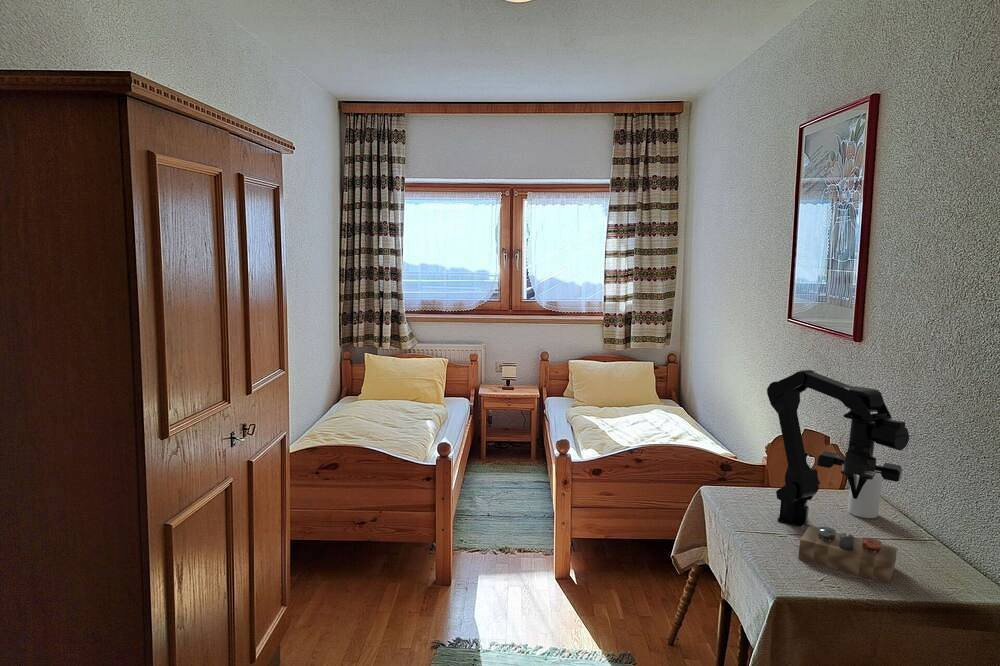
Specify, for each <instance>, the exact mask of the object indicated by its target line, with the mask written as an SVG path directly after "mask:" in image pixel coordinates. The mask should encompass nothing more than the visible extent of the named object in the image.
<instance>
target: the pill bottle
mask: <svg viewBox="0 0 1000 666" xmlns="http://www.w3.org/2000/svg"><path fill="white" fill-rule="evenodd" d="M876 465H879V464H878V463H876ZM858 482H859V476H858V475H857V485H858ZM882 485H883V477H882V476H881V474H880V473H875V476H874V478H873V479H872V480H870V479H868V480H867V481H866V482H865V484H864V485H863V487H862V489H861V491H860V493H859V495H858V497H857V499H854V498H853V495H852V491H851V487H850V486H849V491H848V492H849V493H848V501H847V502H848V503H847V510H848V511H847V512H848V513H849V514H851V515H853V516H855V517H857V518H863V519H875V518H877V517H878V516H879V514H880V513H879V512H880V503H881V495H882Z"/></svg>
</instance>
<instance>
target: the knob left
mask: <svg viewBox="0 0 1000 666" xmlns="http://www.w3.org/2000/svg"><path fill="white" fill-rule="evenodd" d="M817 528H818V536H819V537H821V539H823V540H826V541H830V542H831V540H833V539H835V536H836V533H837V531H836V530H835V529H834V528H831V527H828V526H820V527H817Z"/></svg>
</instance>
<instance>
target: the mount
mask: <svg viewBox="0 0 1000 666" xmlns="http://www.w3.org/2000/svg"><path fill="white" fill-rule="evenodd" d="M818 528H819V527H814V526H808V527H807V529H806V530H805V532H803V533H804V534H803V535H802V536H801V537H800V539H799V546H798V547H799V549H798V555H797V559H799V560H802V561H806V562H810V563H813V564H817V565H821V566H824V567H827V568H831V569H835V570H838V571H842V572H847V573H850V574H853V575H857V576H859V577H860V576H861V577H865V578H868V579H873V580H874V581H878V582H883V583H885V584H890V582H891V579H892V576H893V573H894V570H895V568H896V559H897V551H898V548H897V547H894V546H890V545H886V544H882V543H881V550H880V551H876V553H874V552H870V551H866V550H865V548H863V547H862V541H863V538H859V537H858V538H857V537H854V544H853V550H851V551H847V550H843V549H841V548H840V547H839V543H840V535H841V534H842V533H837V532H836V536H835V539H833V540H831V542H830V541H826V540H823V539H821V537H819V536H818Z"/></svg>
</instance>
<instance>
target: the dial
mask: <svg viewBox="0 0 1000 666" xmlns="http://www.w3.org/2000/svg"><path fill="white" fill-rule="evenodd" d="M840 534H841V535H840V543H839V547H840V548H841V549H843V550H847V551H851V550H853V544H854V538H855V536H854V535H852V534H850V532H846V533H840Z"/></svg>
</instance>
